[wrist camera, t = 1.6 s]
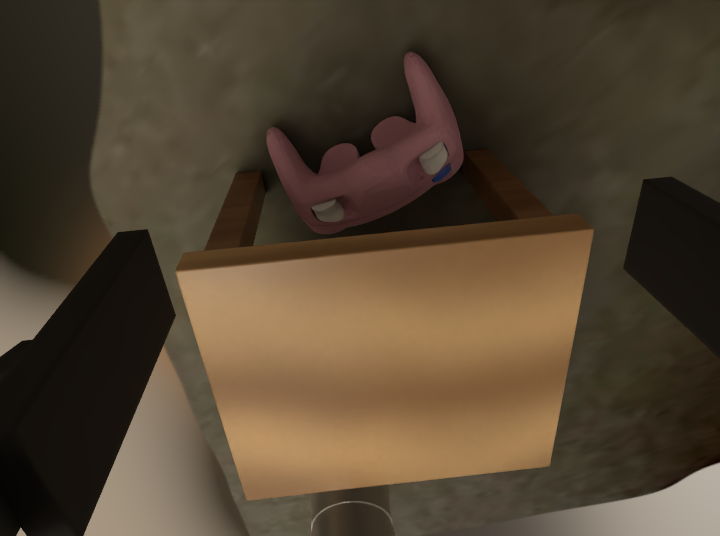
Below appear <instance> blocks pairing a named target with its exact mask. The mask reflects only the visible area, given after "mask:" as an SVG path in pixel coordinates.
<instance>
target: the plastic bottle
mask: <svg viewBox="0 0 720 536" xmlns="http://www.w3.org/2000/svg"><path fill="white" fill-rule="evenodd" d="M310 498H311V510H312V522H311V530H312V531H311V536H395V532H394V528H393V524H392V517H391V512H390V504H389V487H388V485H380V486H371V487H362V488H353V489H344V490H336V491H327V492H318V493H310Z"/></svg>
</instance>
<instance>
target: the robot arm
mask: <svg viewBox="0 0 720 536" xmlns="http://www.w3.org/2000/svg"><path fill="white" fill-rule="evenodd" d="M623 269H624V270H626V271H627V272H628V273H629V274H630V275H631V276H632V277H633V278H634V279H635V280H636V281H637V282H638V283H639V284H641V285H642V286H643V287H644V288H645V289H646V290H647V291H648V292H649V293H650V294H651V295H652V296H653V297H654V298H656V299H657V300H658V301H659V302H660V303H661V304H662V305H663V306H664V307H665V308H666V309H667V310H668V311H669V312H671V313H672V314H673V315H674V316H675V317H676V318H677V319H678V320H679V321H680V322H681V323H682V324H683V325H684V326H685V327H687V328H688V329H689V330H690V331H691V332H692V333H693V334H694V335H695V336H696V337H697V338H698V339H699V340H700V341H702V342H703V343H704V344H705V345H706V346H707V347H708V348H709V349H710V350H711V351H712V352H713V353H714V354H715V355H717V356H718V357H719V358H720V203H719V202H717V201H715V200H713V199H711V198H709V197H708V196H706V195H704V194H702V193H700V192H699V191H697V190H695V189H693V188H691V187H689V186H688V185H686V184H684V183H682V182H680V181H678V180H677V179H675V178H673V177H664V178H654V179H644V180H643V184H642V188H641V193H640V197H639V202H638V206H637V210H636V215H635V219H634V224H633V228H632V232H631V237H630V241H629V246H628V250H627V254H626V259H625V263H624V268H623ZM175 316H176V315H175V312H174V309H173V306H172V303H171V299H170V296H169V293H168V290H167V287H166V284H165V281H164V278H163V275H162V272H161V269H160V266H159V263H158V260H157V256H156V253H155V250H154V247H153V244H152V241H151V238H150V235H149V232H148V229H146V230H136V231H126V232H118V233H117V234H116V235H115V237H114V238H113V239H112V240H111V242H110V243H109V244H108V245H107V247H106V248H105V249H104V251H103V252H102V253H101V254H100V256H99V257H98V258H97V259H96V261H95V262H94V263H93V264H92V266H91V267H90V268H89V269H88V271H87V272H86V273H85V274H84V276H83V277H82V278H81V280H80V281H79V282H78V283H77V285H76V286H75V287H74V289H73V290H72V291H71V292H70V293H69V295H68V296H67V297H66V299H65V300H64V301H63V302H62V304H61V305H60V306H59V307H58V309H57V310H56V311H55V313H54V314H53V315H52V316H51V318H50V319H49V320H48V321H47V323H46V324H45V325H44V326H43V328H42V329H41V330H40V331H39V333H38V334H37V335H36V336H35V338H34V339H33V340H26V341H21V342H20V343H19V344H17V345H16V346H14V347H13V348H12V349H10V350H9V351H8V352H6V353H5V354H4V355H2V356H1V357H0V536H16V535H17V533H18V531H19V529H20V527H21V528H22V530H23V531H24V532H25V534H26V535H27V536H83V535H84V533H85V530H86V528H87V525H88V523H89V521H90V519H91V516H92V513H93V511H94V509H95V507H96V504H97V502H98V499H99V497H100V495H101V492H102V490H103V487H104V485H105V483H106V480H107V478H108V476H109V473H110V471H111V468H112V466H113V464H114V461H115V459H116V456H117V454H118V452H119V449H120V447H121V445H122V442H123V440H124V438H125V435H126V433H127V430H128V428H129V425H130V423H131V421H132V418H133V416H134V414H135V411H136V409H137V406H138V404H139V402H140V399H141V397H142V395H143V392H144V390H145V388H146V385H147V383H148V380H149V378H150V376H151V373H152V371H153V368H154V366H155V363H156V361H157V359H158V357H159V354H160V352H161V350H162V347H163V345H164V342H165V340H166V338H167V335H168V333H169V331H170V328H171V326H172V323H173V321H174V319H175Z"/></svg>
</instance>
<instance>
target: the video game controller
mask: <svg viewBox="0 0 720 536" xmlns="http://www.w3.org/2000/svg"><path fill="white" fill-rule="evenodd" d="M404 71H405V76H406V80H407V83H408V87H409V90H410V94H411V98H412V101H413V104H414V107H415V112H416V123H412V122H410V121H408V120H406V119H404V118H402V117H398V116H393V117H389V118H386V119H385V120H383V121H381V122H380V123H379V124H378V125H377V126H376V127H375V128H374V129H373V131H372V133H371V141H372V143H373V145H374V147H375V149H376V150H374V151H372V152H369V153H367V154H365V155H363V156H362V157H360V155H359V153H358V151H357V149H356V147H355V146H354V145H352V144H350V143H342V144H339V145H336V146H333V147H332V148H330V149H329V150H328V151H327V152H326V153H325V155H324V156H323V159H322V162H321V167H320V170H319V173H318V174H315V173H313V172H312V171H311V170H310V169H309V168H308V167H307V166H306V165H305V163H304V162H303V160H302V158H301V157H300V155H299V154H298V152H297V151H296V149H295V148H294V146H293V145H292V143H291V142H290V141H289V140H288V138H287V137H286V135H285V134H284V133H283V132H282V131H281V130H279V129H278V128H275V127H271V128H269V130H268V131H267V135H266V137H267V147H268V151H269V154H270V156H271V159H272V161H273V164H274V166H275V169H276V171H277V174H278V176H279V178H280V181H281V183H282V185H283V188H284V190H285V192H286V194H287V195H288V197H289V199H290V200H291V202H292V204H293V206H294V208H295V209H296V211H297V213H298V215H299V216H300V218H301V219H302V220H303V221H304V222H305V223H306V224H307V225H308V226H309V227H310V228H311V229H312V230H313V231H314V232H316V233H319V234H334V233H337V232H340V231H342V230H343V229H345V228H347V227H353V226H357V225H360V224H364V223H367V222H370V221H373V220H375V219H378V218H381V217H383V216H385V215H388V214H390V213H392V212H394V211H396V210H398V209H400V208H401V207H403V206H405V205H407V204H409V203H410V202H412V201H413V200H415V199H416V198H418V197H419V196H421V195H422V194H424V193H425V192H426V191H428V190H429V189H430V188H431V187H432V186H434V185H436V184H439V183H442V182H444V181H446V180H448V179H449V178H451V177H452V176H453V175H454V174H455V173H456V172H457V171H458V170H459V168H460V166H461V165H462V162H463V159H464V153H463V147H462V142H461V136H460V132H459V128H458V124H457V121H456V118H455V115H454V112H453V110H452V108H451V106H450V103H449V101H448V99H447V97H446V96H445V94H444V92H443V90H442V89H441V87H440V85H439V84H438V82H437V80H436V78H435V77H434V75H433V73H432V71H431V70H430V68H429V67H428V65H427V64H426V62H425V61H424V60H423V59H422V58H421V57H420V56H419V55H418V54H416V53H414V52H408V53H406V54H405V57H404Z"/></svg>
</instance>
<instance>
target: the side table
mask: <svg viewBox="0 0 720 536" xmlns="http://www.w3.org/2000/svg"><path fill="white" fill-rule="evenodd" d="M463 175H464V177H465V178H466V179H467V181H468V182H469V183H470V185H471V186H472V188H473V189H474V190H475V192H476V193H477V194H478V196H479V197H480V199H481V200H482V201H483V203H484V204H485V205H486V207H487V208H488V209H489V211H490V212H491V214H492V215H493V216H494V218H495V219H496V220H497V222H488V223H478V224H468V225H458V226H448V227H438V228H428V229H418V230H408V231H398V232H388V233H378V234H368V235H358V236H348V237H338V238H328V239H318V240H308V241H298V242H288V243H278V244H269V245H259V246H253V243H254V239H255V235H256V231H257V227H258V223H259V218H260V214H261V210H262V206H263V202H264V197H265V188H264V183H263V178H262V172H261V171H251V172H241V173H236V174H235V177H234V179H233V182H232V184H231V187H230V189H229V191H228V194H227V196H226V199H225V201H224V204H223V206H222V208H221V211H220V213H219V216H218V218H217V221H216V223H215V225H214V228H213V230H212V233H211V235H210V238H209V240H208V242H207V245H206V247H205V250H204V251H199V252H189V253H184V254H183V256H182V258H181V260H180V262H179V264H178V266H177V269H176V271H175V273H176V277H177V280H178V283H179V286H180V289H181V293H182V296H183V299H184V302H185V305H186V309H187V312H188V315H189V318H190V321H191V325H192V328H193V331H194V334H195V337H196V340H197V344H198V347H199V350H200V353H201V356H202V360H203V363H204V366H205V369H206V372H207V376H208V379H209V382H210V385H211V388H212V392H213V395H214V398H215V401H216V404H217V408H218V411H219V414H220V417H221V420H222V424H223V427H224V430H225V433H226V436H227V439H228V443H229V446H230V449H231V452H232V455H233V459H234V462H235V465H236V468H237V471H238V475H239V478H240V481H241V484H242V487H243V491H244V494H245V497H246V500H256V499H265V498H274V497H283V496H292V495H300V494H309V493H318V492H327V491H336V490H344V489H353V488H362V487H371V486H380V485H388V484H397V483H406V482H415V481H424V480H432V479H441V478H450V477H459V476H468V475H476V474H485V473H494V472H503V471H512V470H520V469H529V468H538V467H547V466H550V461H551V455H552V450H553V445H554V440H555V434H556V429H557V424H558V418H559V413H560V408H561V403H562V397H563V392H564V387H565V382H566V376H567V371H568V366H569V360H570V355H571V350H572V345H573V339H574V334H575V329H576V324H577V318H578V313H579V308H580V302H581V297H582V292H583V287H584V281H585V276H586V271H587V266H588V260H589V255H590V250H591V244H592V239H593V234H594V228H593V227H591V226H590V225H589V224H588V223H587V222H586V221H585V220H584V219H583V218H582V217H581V216H579V215H578V214H567V215H557V216H554V215H553V214H552V213H551V212H550V211H549V210H548V209H547V208H546V207H545V206H544V205H543V204H542V203H541V202H540V201H539V200H538V199H537V198H536V197H535V196H534V195H533V194H532V193H531V192H530V191H529V190H528V189H527V188H526V187H525V186H524V185H523V184H522V183H521V182H520V181H519V180H518V179H517V178H516V177H515V176H514V175H513V174H512V173H511V172H510V171H509V170H508V169H507V168H506V167H505V166H504V165H503V164H502V163H501V162H500V161H499V159H498V158H497V157H496V156H495V155H494V154H493V153H492V152H491V151H490V150H489V149H480V150H470V151H464V159H463Z"/></svg>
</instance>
